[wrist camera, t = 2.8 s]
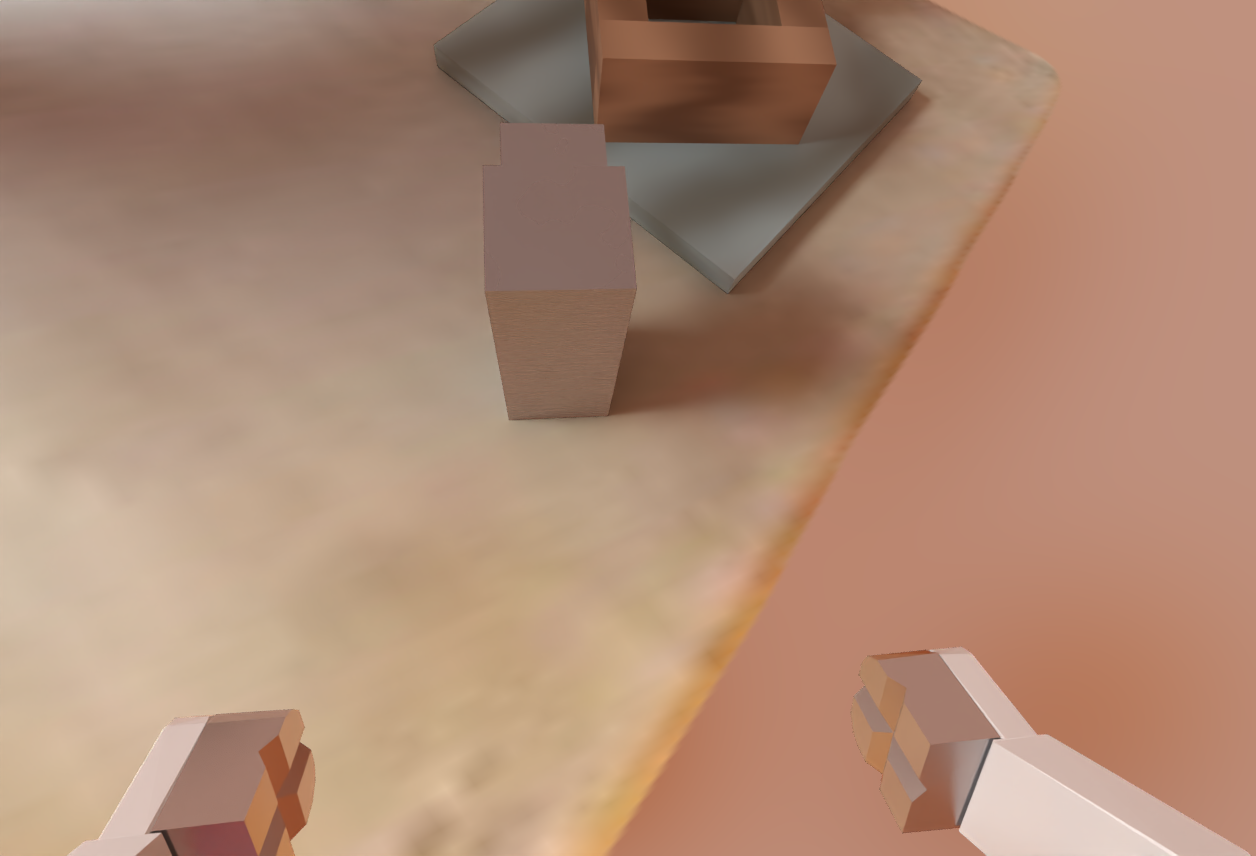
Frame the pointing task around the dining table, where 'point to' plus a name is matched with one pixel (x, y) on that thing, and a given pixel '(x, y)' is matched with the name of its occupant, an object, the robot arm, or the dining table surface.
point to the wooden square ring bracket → (692, 105)
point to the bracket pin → (557, 268)
